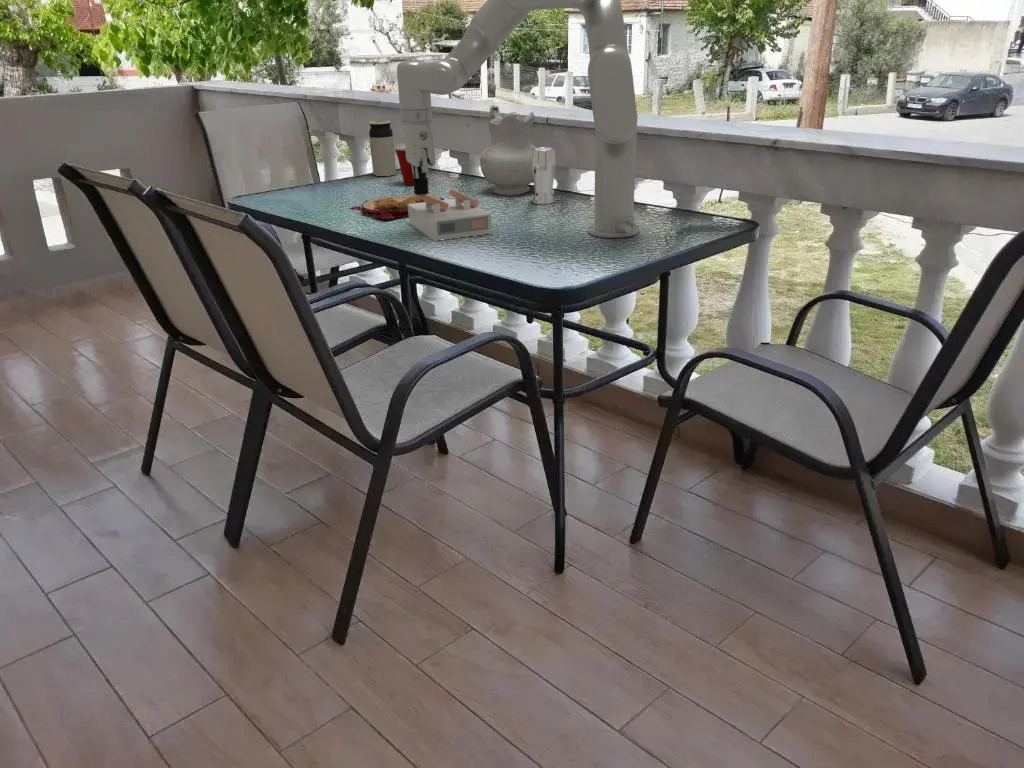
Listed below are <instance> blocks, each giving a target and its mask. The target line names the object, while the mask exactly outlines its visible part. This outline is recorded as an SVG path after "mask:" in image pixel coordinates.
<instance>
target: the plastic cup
mask: <svg viewBox="0 0 1024 768" xmlns="http://www.w3.org/2000/svg"><path fill="white" fill-rule="evenodd" d="M394 152H396V157H397V159H398V164H399V169H400V173H401V175H402V180H403V183H404V186H411V187H414V182H413V178H416V177H413V171H412V166H411V164H410V163H409V162H407V159H406V152H405V146H397V147H395V146H394Z"/></svg>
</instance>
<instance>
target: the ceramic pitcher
mask: <svg viewBox="0 0 1024 768" xmlns="http://www.w3.org/2000/svg"><path fill="white" fill-rule="evenodd" d="M517 112H518V111H512V112H508V114H502V115H501V112H500V108H499V106H497V105H496V106H495V105H491V106H490V107H489V114H488V130H489V134H490V140H491V143H490V145H488V147H487V148H486V149H484V150H483V151H482V153H481V154H480V157H479V166H480V171H481V174H482V175H483V177H484V178H485V180H486V181H487V182H488V183H489V184H491V185H494V186H495V187H494V189H493V191H492V193H494V194H499V195H502V196H510V197H511V196H512V197H513V196H519V195H523V194H524V193H527V192H530V191H531V188H530V187H529V185H530V184H534V183H533V178H532V172H531V149H533V148H537V147H536V146H535V145H534V144H533V143H532V141H531V138H530V137H531V136H530V135H531V134H530V132H531V129H532V125H533V123H534V119H535V113H534V112H532V111H530V113H528V115H526V116H525V117H524V118H522V117H521V116H520V113H517Z"/></svg>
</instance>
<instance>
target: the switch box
mask: <svg viewBox="0 0 1024 768" xmlns="http://www.w3.org/2000/svg"><path fill="white" fill-rule="evenodd" d="M442 201H444V202H446V203H447V204H449V205H448V208H447V210H446V209H444V208H441V207H440V204H433V206H431V205H430V204H428V203H427V202H422V203H413V204H408V223H409V224H410V225H411V226H413V227H414V228H415V229H417V230H418V231H420V233H422V234H423V233H424V234H423V235H425V234H426V235H427V236H428V238H429V237H430V238H431V239H430V238H429V239H430V240H432V239H433V240H441V239H449V240H451V239H450V238H457V239H461V238H460V237H465V238H470V237H469V236H473V237H478V236H477V235H481V236H486V235H485V234H489V235H493V226H492V225H493V224H492V223H493V222H492V213H490V212H488V211H486V210H485V209H483V208H481V207H479V206H477V207H476V206H473V205H471V204H470V200H467V201H463V203H462V202H460V201H458V200H457V198H455V197H454V198H452V199H444V200H442ZM426 235H425V236H426ZM427 236H426V237H427ZM433 240H432V241H433Z"/></svg>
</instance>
